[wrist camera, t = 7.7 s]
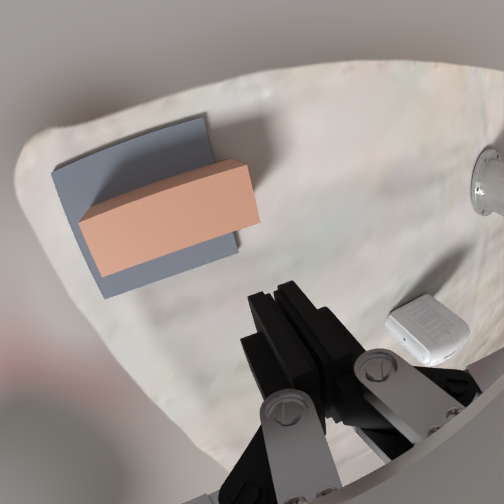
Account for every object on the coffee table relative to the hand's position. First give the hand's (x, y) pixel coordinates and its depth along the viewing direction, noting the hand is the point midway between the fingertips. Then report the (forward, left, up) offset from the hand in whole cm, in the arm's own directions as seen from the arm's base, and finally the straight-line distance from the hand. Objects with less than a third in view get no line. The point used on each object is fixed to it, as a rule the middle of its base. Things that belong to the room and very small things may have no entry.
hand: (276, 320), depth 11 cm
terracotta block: (-4, 0, -17) cm, 18 cm away
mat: (+5, 0, -20) cm, 21 cm away
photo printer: (-27, +28, -21) cm, 44 cm away
